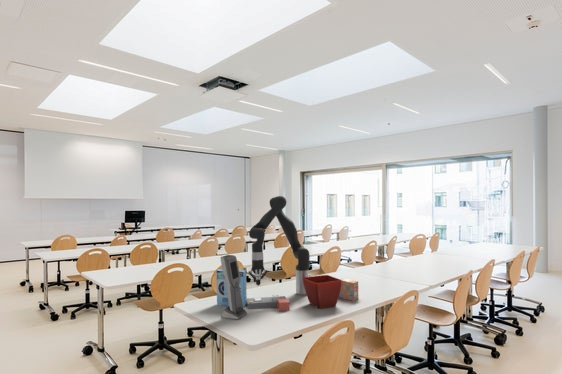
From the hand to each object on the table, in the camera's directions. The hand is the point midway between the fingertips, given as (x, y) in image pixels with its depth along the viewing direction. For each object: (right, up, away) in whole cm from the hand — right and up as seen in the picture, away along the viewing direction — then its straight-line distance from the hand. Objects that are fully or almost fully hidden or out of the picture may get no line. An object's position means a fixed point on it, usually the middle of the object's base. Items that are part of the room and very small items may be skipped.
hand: (258, 285), depth 223 cm
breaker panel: (+6, -13, +1) cm, 14 cm away
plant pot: (+42, -12, -2) cm, 44 cm away
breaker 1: (0, -12, 0) cm, 12 cm away
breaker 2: (+12, -10, +2) cm, 16 cm away
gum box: (-17, -13, 0) cm, 22 cm away
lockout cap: (+17, -12, -9) cm, 22 cm away
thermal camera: (-13, -12, -21) cm, 27 cm away
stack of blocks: (+58, -13, +15) cm, 62 cm away
